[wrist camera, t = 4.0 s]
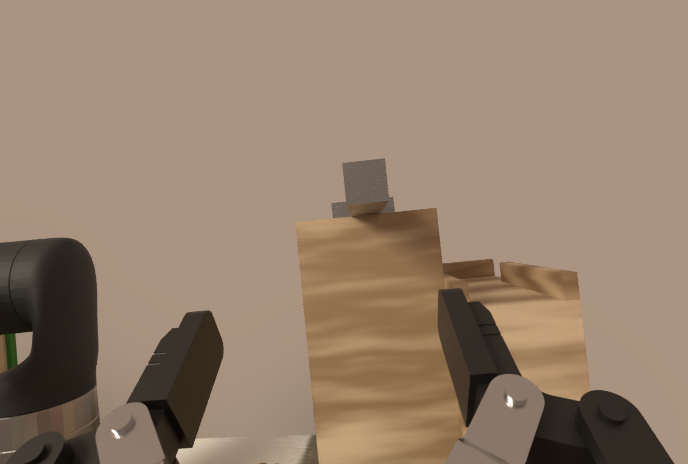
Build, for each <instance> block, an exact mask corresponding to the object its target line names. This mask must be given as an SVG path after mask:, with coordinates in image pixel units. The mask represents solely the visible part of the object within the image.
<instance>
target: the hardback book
mask: <svg viewBox="0 0 688 464" xmlns="http://www.w3.org/2000/svg"><path fill="white" fill-rule="evenodd" d="M17 365H18V364H17V351H16V339H15V334H4V335H0V373H1V372H4V371H6V370H8V369H11V368H13V367H15V366H17Z"/></svg>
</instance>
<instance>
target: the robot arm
mask: <svg viewBox="0 0 688 464" xmlns="http://www.w3.org/2000/svg"><path fill="white" fill-rule="evenodd" d="M97 324H98V323H97V284H96V275H95V268H94V265H93V261H92V258H91V256H90V254H89V252H88V251H87V249H86V248H85V247H84V246H83V245H82V244H81V243H80V242H78V241H76V240H74V239H71V238H48V239H37V240H28V241H16V242H4V243H0V335H4V334H15V333H23V332H32V331H33V337H32V349H31V353H30V355H29V356H28V357H27V358H26V359H25V360H24V361H23V362H22V363H21V364H19V365H17V366H15V367H13V368H11V369H8V370H6V371H4V372H1V373H0V464H179V461H178V460H177V458H176V454H177V452H178V449H181V448H192V447H193V444H194V441H195V438H196V435H197V432H198V429H199V426H200V423H201V420H202V417H203V414H204V412H205V408H206V406H207V403H208V400H209V397H210V393H211V391H212V388H213V385H214V382H215V379H216V376H217V373H218V370H219V367H220V364H221V361H222V358H223V342H222V338H221V336H220V333H219V331H218V328H217V325H216V323H215V320H214V317H213V315H212V313H211V312H210V311H196V312H188V313H186V315H185V316H184V318H183V320H182V322H181V324H180V326H179V328H172V329H171V330H170V331H169V332H168V333H167V334H166V335H165V337H163V338H162V339H161V341H160V342H159V344H158V346H157V348H156V350H155V352H154V355H152V357H151V359H150V361H149V364H148V366H146V368H145V370H144V372H143V374H142V376H141V377H140V379H139V381H138V383H137V385H136V387H135V388H134V390H133V392H132V394H131V396H130V398H129V399H128V401H127V403H126V404H125V405H123V406H121V407H119V408H117V409H116V410H114V411H113V412H111V413H110V414H109V415H108V416H107V417H106V418H105V419H104V420H103V421H102V422H101V424H100V418H99V408H98V398H97V397H98V396H97V386H96V365H97V358H98V325H97ZM438 332H439V338H440V342H441V345H442V349H443V352H444V355H445V359H446V362H447V365H448V369H449V372H450V376H451V379H452V382H453V386H454V389H455V393H456V396H457V399H458V403H459V406H460V410H461V413H462V416H463V420H464V423H465V426H466V427H468V430H467V432H466V434H465V436H464V437H463V438H462V439H460V438H459V439H458V440H457V441H456V443H455V444H454V446H453V448H452V450H451V452H450V454H449V456H448V458H447V460H446V462H445V464H674V463H673V461H672V460H671V458H670V457H669V455H668V454H667V452H666V451H665V449H664V447H663V446H662V445H661V443H660V441H659V440H658V438H657V437H656V435H655V434H654V432H653V431H652V429H651V428H650V426H649V425H648V423H647V422H646V420H645V419H644V417H643V416H642V414H641V413H640V412H639V410H638V409H637V408H636V407H635V406H634V405H633V404H632V403H630V402H629V401H628V400H626V399H625V398H623V397H621V396H619V395H617V394H614V393H612V392H608V391H603V390H594V391H589V392H587V393H585V394H584V395H583V396H582V397H581V399H580V401H577V400H572V399H567V398H563V397H558V396H553V395H549V394H546V393H544V392H541V391H540V389H539V388H538V387H537V386H536V385H535V384H534V383H533V382H531V381H530V380H528V379H526V378H524V377H522V375H521V373H520V372H519V370H518V367H517V365H516V363H515V361H514V359H513V357H512V355H511V353H510V351H509V349H508V347H507V345H506V343H505V341H504V339H503V337H502V336H501V333H500V331H499V328H498V326H496V322H495V320H494V318H493V316H492V314H491V312H490V311H489V310H488V309H487V308H486V307H485V306H484V305H482V304H481V303H480V302H479V301H476V302H467V299H466V297H465V295H464V292H463V290H462V289H461V288H450V289H439V291H438Z"/></svg>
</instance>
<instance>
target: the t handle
mask: <svg viewBox="0 0 688 464" xmlns="http://www.w3.org/2000/svg"><path fill="white" fill-rule="evenodd" d="M343 174H344V183H345V194H346V202H339V203H332V213H333V218H343V217H353V216H362V215H372V214H382V213H391V212H394V211H395V210H394V201H393V197H389V195H388V185H387V176H386V166H385V159H376V160H366V161H358V162H348V163H343Z"/></svg>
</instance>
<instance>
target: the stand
mask: <svg viewBox="0 0 688 464" xmlns="http://www.w3.org/2000/svg"><path fill="white" fill-rule="evenodd" d="M296 233H297V243H298V253H299V263H300V273H301V284H302V295H303V305H304V315H305V325H306V335H307V346H308V356H309V366H310V377H311V387H312V396H313V407H314V418H315V428H316V439H317V449H318V459H319V464H445V462H446V460H447V458H448V456H449V454H450V452H451V450H452V448H453V446H454V444H455V443H456V441H457V440H458V439H459V438H460V439H462V438H463V437H464V436H465V434H466V432H467V430H468V427H466V426H465V423H464V420H463V416H462V413H461V410H460V406H459V403H458V399H457V396H456V393H455V389H454V386H453V382H452V379H451V376H450V372H449V369H448V365H447V362H446V359H445V355H444V352H443V349H442V345H441V342H440V338H439V332H438V291H439V289H450V288H461V289H462V290H463V292H464V295H465V297H466V299H467V302H476V301H479V302H480V303H481V304H482V305H484V306H485V307H486V308H487V309H488V310H489V311H490V312H491V314H492V316H493V318H494V320H495V322H496V326H498V328H499V331H500V333H501V336H502V337H503V339H504V341H505V343H506V345H507V347H508V349H509V351H510V353H511V355H512V357H513V359H514V361H515V363H516V365H517V367H518V370H519V372H520V373H521V375H522V377H524V378H526V379H528V380H530V381H531V382H533V383H534V384H535V385H536V386H537V387H538V388H539V389H540V391H541V392H544V393H546V394H549V395H553V396H558V397H563V398H567V399H572V400H577V401H580V399H581V397H582V396H583V395H584V394H585V393H587V392H589V391H590V383H589V374H588V365H587V357H586V348H585V339H584V331H583V322H582V313H581V304H580V295H579V287H578V278H577V272H572V271H566V270H559V269H552V268H546V267H539V266H532V265H526V264H519V263H513V262H504V263H503V262H502V263H500V271H501V278H500V277H497V276H495V274H494V264H493V259H485V260H476V261H465V262H455V263H444V264H442V256H441V247H440V237H439V228H438V219H437V210H436V208H430V209H421V210H412V211H402V212H391V213H382V214H372V215H362V216H353V217H343V218H333V219H323V220H315V221H304V222H296Z"/></svg>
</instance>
